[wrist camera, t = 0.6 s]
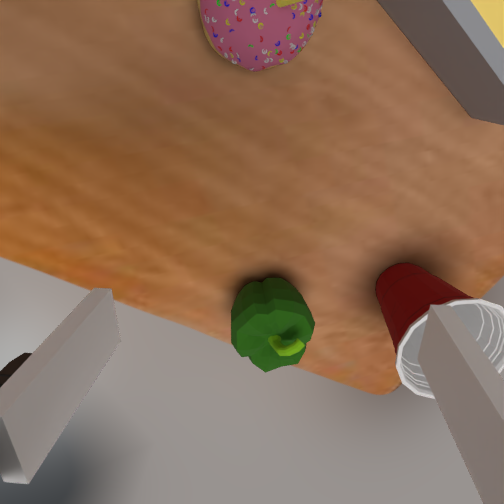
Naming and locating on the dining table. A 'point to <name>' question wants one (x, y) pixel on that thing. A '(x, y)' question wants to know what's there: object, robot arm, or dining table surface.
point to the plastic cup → (416, 312)
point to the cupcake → (259, 29)
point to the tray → (459, 48)
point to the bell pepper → (271, 323)
